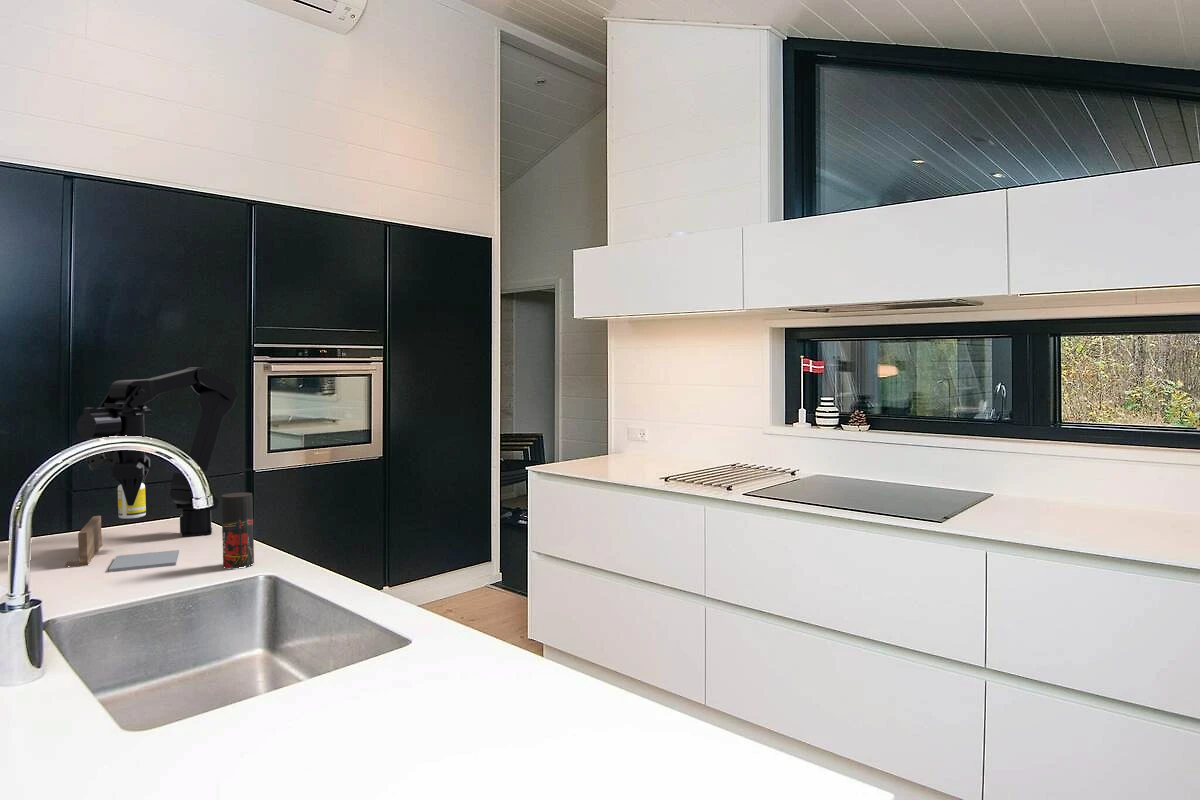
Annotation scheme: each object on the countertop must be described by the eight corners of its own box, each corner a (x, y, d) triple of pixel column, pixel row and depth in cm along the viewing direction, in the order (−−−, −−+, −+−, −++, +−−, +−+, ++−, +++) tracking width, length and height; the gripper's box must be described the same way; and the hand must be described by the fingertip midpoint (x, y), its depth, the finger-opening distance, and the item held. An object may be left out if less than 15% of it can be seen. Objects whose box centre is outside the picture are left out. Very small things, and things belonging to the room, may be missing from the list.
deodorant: (216, 566, 160) (215, 495, 159) (241, 560, 165) (240, 491, 165) (235, 570, 157) (233, 498, 157) (260, 563, 163) (258, 493, 162)
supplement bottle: (151, 514, 177) (150, 472, 177) (135, 519, 172) (133, 476, 171) (129, 514, 178) (128, 472, 177) (112, 518, 172) (111, 475, 172)
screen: (102, 545, 179) (101, 515, 179) (88, 565, 161) (86, 532, 161) (81, 546, 178) (80, 517, 177) (65, 567, 160) (64, 534, 159)
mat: (179, 552, 172) (179, 549, 172) (175, 565, 161) (175, 562, 161) (116, 558, 167) (116, 555, 167) (108, 571, 156) (108, 569, 156)
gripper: (94, 433, 179) (96, 499, 180) (80, 440, 162) (83, 513, 163) (149, 431, 184) (151, 496, 184) (141, 438, 167) (143, 509, 168)
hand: (132, 503), depth 175 cm, fingers closed on supplement bottle, 5 cm apart
